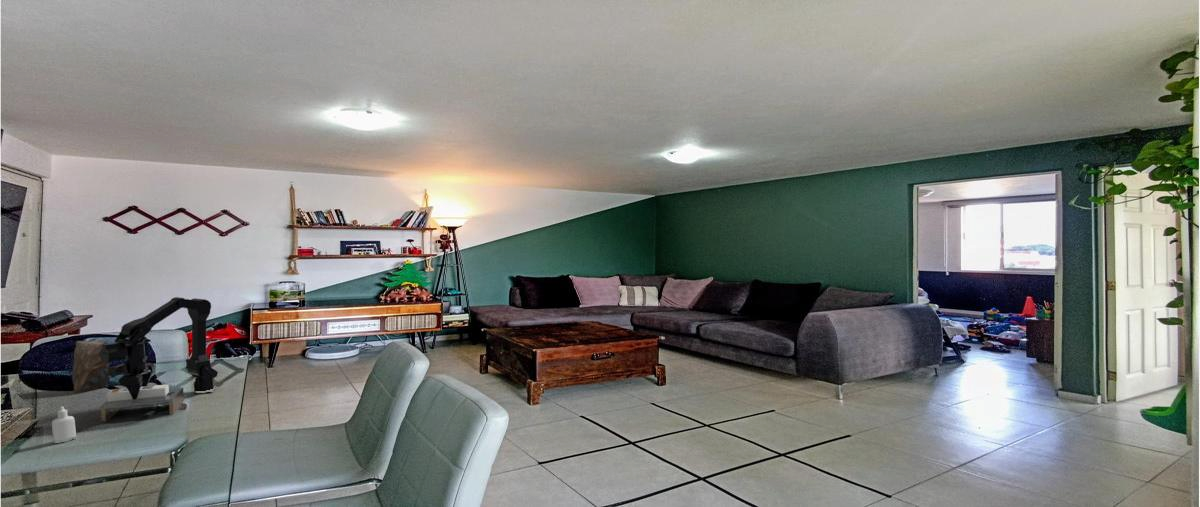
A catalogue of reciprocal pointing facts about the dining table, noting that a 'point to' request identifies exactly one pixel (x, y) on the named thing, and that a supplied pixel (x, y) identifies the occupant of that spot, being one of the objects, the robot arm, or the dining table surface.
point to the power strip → (143, 393)
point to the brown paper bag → (89, 367)
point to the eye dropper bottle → (63, 426)
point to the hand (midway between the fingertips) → (138, 395)
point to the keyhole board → (174, 403)
